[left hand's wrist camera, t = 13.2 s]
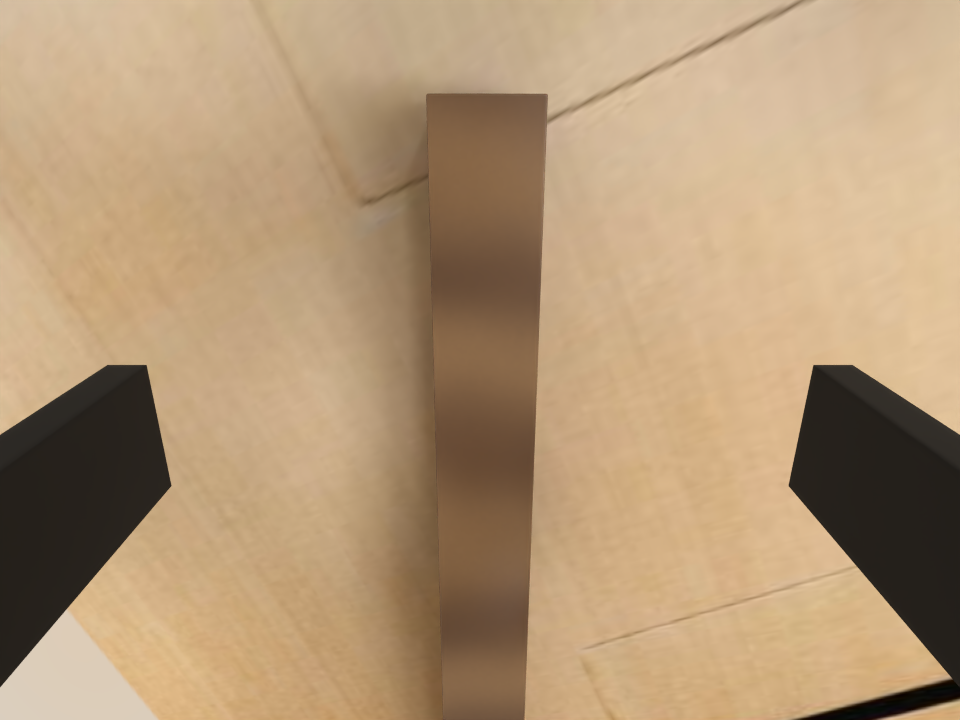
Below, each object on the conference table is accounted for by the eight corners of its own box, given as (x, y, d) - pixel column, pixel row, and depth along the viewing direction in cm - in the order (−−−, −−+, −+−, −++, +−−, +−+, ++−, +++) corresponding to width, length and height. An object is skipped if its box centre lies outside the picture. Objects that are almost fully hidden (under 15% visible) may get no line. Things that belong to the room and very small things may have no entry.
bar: (437, 100, 33) (426, 93, 25) (532, 100, 33) (547, 93, 25) (452, 804, 52) (448, 912, 45) (511, 804, 52) (517, 912, 45)
